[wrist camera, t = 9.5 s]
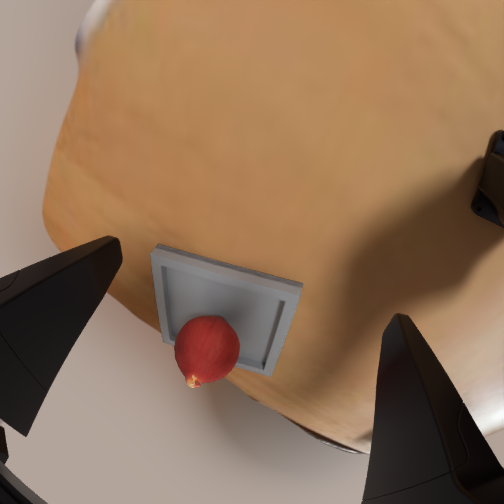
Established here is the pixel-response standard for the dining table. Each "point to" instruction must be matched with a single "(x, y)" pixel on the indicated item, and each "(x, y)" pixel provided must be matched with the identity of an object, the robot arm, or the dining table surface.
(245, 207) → the dining table surface
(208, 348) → the onion
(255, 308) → the dish
